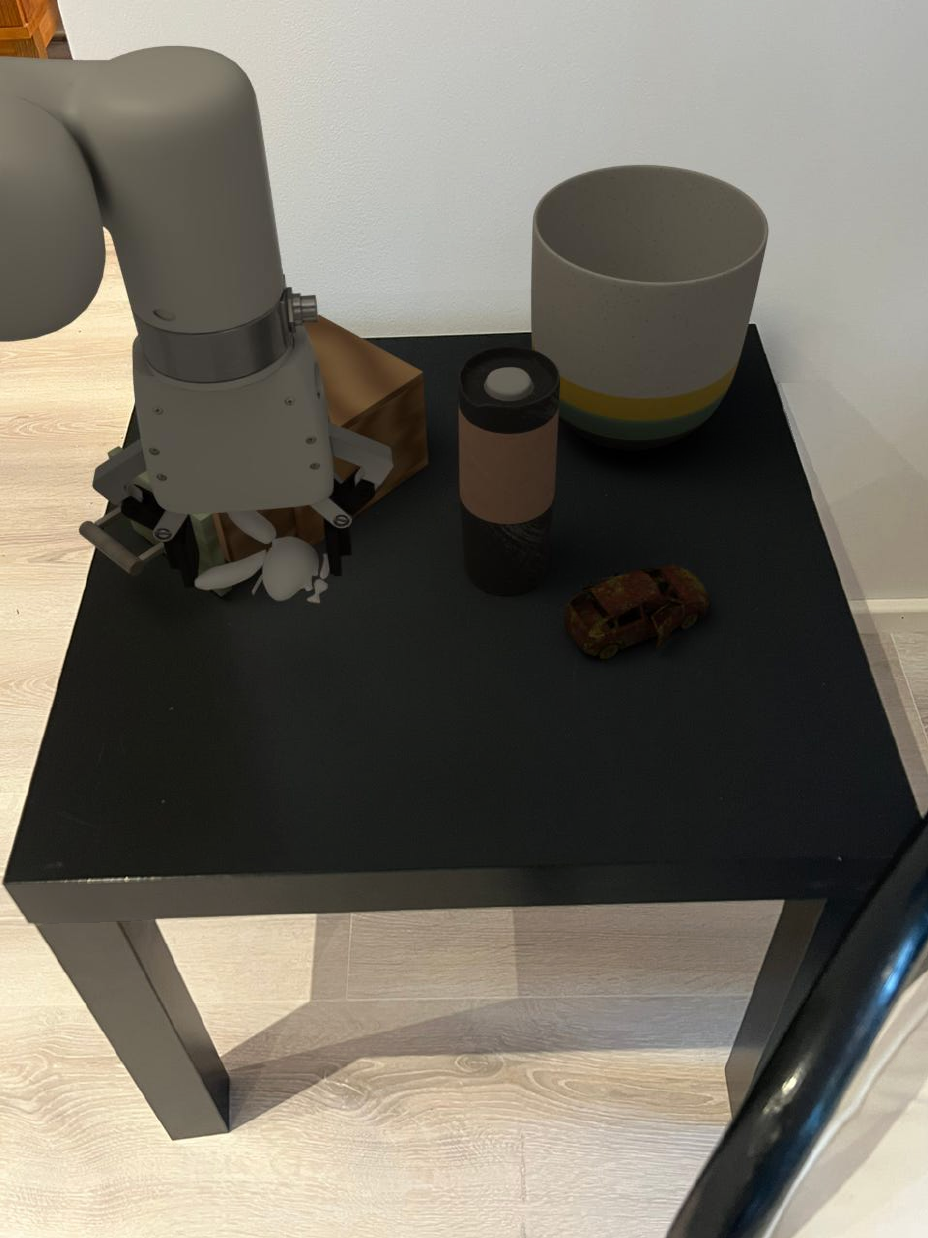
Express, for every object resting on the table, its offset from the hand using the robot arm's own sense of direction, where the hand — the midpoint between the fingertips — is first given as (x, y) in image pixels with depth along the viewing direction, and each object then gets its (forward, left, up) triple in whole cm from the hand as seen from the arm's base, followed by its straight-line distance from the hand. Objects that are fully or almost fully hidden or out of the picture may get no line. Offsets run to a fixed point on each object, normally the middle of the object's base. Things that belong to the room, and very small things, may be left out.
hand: (264, 565), depth 67 cm
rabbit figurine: (0, 0, -2) cm, 2 cm away
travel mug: (+17, +17, -20) cm, 31 cm away
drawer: (-8, +23, -19) cm, 30 cm away
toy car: (+27, +9, -20) cm, 35 cm away
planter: (+31, +35, -20) cm, 51 cm away
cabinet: (+1, +31, -20) cm, 37 cm away
